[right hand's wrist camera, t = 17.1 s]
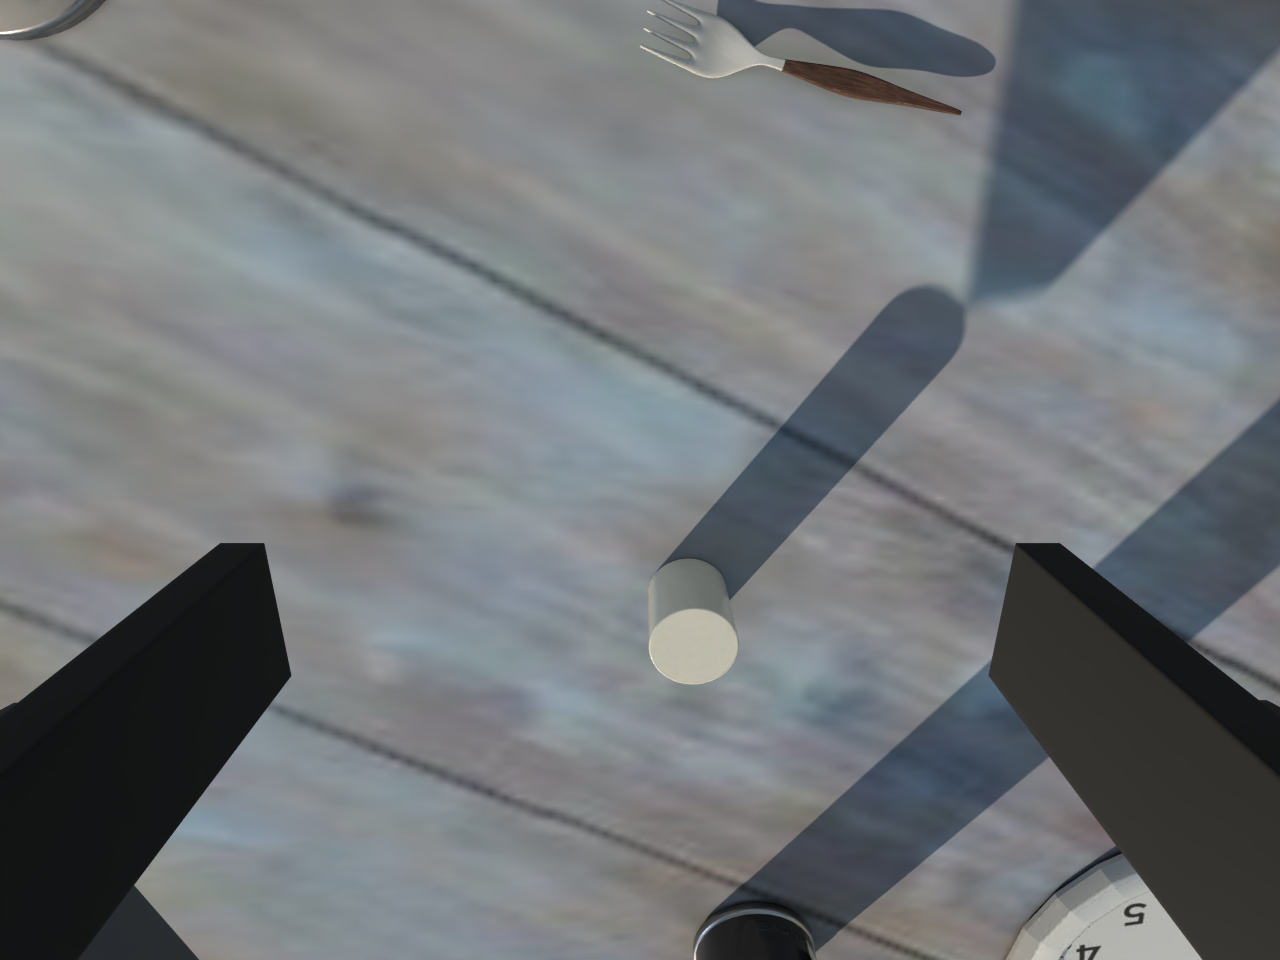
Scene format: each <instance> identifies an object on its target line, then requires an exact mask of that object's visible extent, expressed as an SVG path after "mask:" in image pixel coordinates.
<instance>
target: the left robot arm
mask: <svg viewBox="0 0 1280 960" xmlns="http://www.w3.org/2000/svg"><path fill="white" fill-rule="evenodd" d="M693 950H694V960H816V955H815V945H814V941H813V937H812V933H811V930H810V928H809V927H808V925H807V924H806V922H805V921H804V920H803V919H802V918H801V917H800V916H798V915H797V914H796V913H794V912H792V911H791V910H789V909H786V908H784V907H781V906H778V905H774V904H768V903H745V904H739V905H735V906H732V907H728V908H726V909H723V910H721V911H719V912H717V913H716V914H714V915H713V916H711V917H710V918H709V919H708V920H706V921H705V922H704V923H703V925H702V926H701V927H700V928H699V930H698V932H697V934H696V936H695V939H694V945H693Z"/></svg>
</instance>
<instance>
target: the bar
mask: <svg viewBox="0 0 1280 960" xmlns="http://www.w3.org/2000/svg"><path fill="white" fill-rule="evenodd" d="M78 960H199V959H198V958H197V957H196V956H195V954H194V953H193V952H192V951H191V950H190V949H189V948H188V946H187V945H186V944H185V943H184V942H183V941H182V940H181V938H180V937H179V936H178V935H177V934H176V933H175V932H174V930H173V929H172V928H171V927H170V926H169V925H168V924H167V922H166V921H165V920H164V919H163V918H162V917H161V916H160V914H159V913H158V912H157V911H156V910H155V909H154V908H153V906H152V905H151V904H150V903H149V902H148V901H147V900H146V898H145V897H144V896H143V895H142V894H141V893H140V892H139V890H138V889H137V888H136V887H135V886H133V887H132V888H131V890H130V891H129V892H128V894H127V895H126V896H125V898H124V899H123V900H122V902H121V903H120V904H119V906H118V907H117V908H116V910H115V911H114V912H113V914H112V915H111V916H110V918H109V919H108V920H107V922H106V923H105V924H104V926H103V927H102V928H101V930H100V931H99V932H98V934H97V935H96V936H95V938H94V939H93V940H92V942H91V943H90V944H89V945H88V947H87V948H86V949H85V951H84V952H83V953H82V955H81V956H80V957H79V959H78Z"/></svg>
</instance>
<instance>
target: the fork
mask: <svg viewBox="0 0 1280 960" xmlns="http://www.w3.org/2000/svg"><path fill="white" fill-rule="evenodd" d="M662 1H664V2H666V3H667V4H669V5H671V6H673V7H675V8H676V9H678V10H680V11H682V12H684V13H686V14H688V15H690V16H691V17H693V18H695V19H696V20H697V21H698V26H691V25H688V24H685V23H682V22H680V21H677V20H674V19H671V18H669V17H666V16H663V15H660V14H658V13H655V12H652V11H649V10H648V11H647V12H649V13H650V14H652V15H654V16H656V17H657V18H659V19H661V20H663V21H665V22H667V23H668V24H670V25H672V26H674V27H676V28H678V29H680V30H682V31H684V32H686V33H688V34H689V35H691V36H692V37H693V38H694V40H695V41H694V42H693V43H688V42H685V41H682V40H679V39H676V38H673V37H670V36H667V35H664V34H661V33H658V32H656V31H653V30H650V29H647V28H644V30H646V31H648V32H649V33H651V34H653V35H655V36H657V37H659V38H661V39H663V40H665V41H667V42H668V43H670V44H672V45H674V46H676V47H678V48H681V49H682V50H684V51H686V52H688V53H689V54H690V56H691V58H690V59H682V58H679V57H676V56H673V55H670V54H667V53H664V52H661V51H658V50H655V49H652V48H649V47H646V46H644V45H640V47H641V48H643V49H646V50H648V51H649V52H651V53H653V54H655V55H657V56H659V57H661V58H663V59H665V60H667V61H669V62H672V63H674V64H676V65H678V66H680V67H682V68H685V69H687V70H689V71H691V72H693V73H695V74H697V75H700V76H703V77H707V78H718V77H723V76H727V75H730V74H733V73H735V72H738V71H740V70H743V69H745V68H748V67H751V66H755V65H766V66H770V67H773V68H776V69H778V70H781V71H783V72H785V73H788V74H790V75H793V76H795V77H797V78H800V79H802V80H804V81H807V82H809V83H812V84H814V85H816V86H819V87H821V88H824V89H826V90H829V91H831V92H834V93H837V94H840V95H843V96H847V97H851V98H856V99H861V100H867V101H874V102H882V103H889V104H896V105H903V106H909V107H915V108H920V109H926V110H932V111H937V112H943V113H949V114H955V115H961V112H962V111H960V110H958V109H956V108H953V107H951V106H948V105H945V104H943V103H940V102H938V101H935V100H932V99H930V98H927V97H924V96H922V95H919V94H916V93H914V92H911V91H909V90H906V89H904V88H901V87H899V86H896V85H894V84H891V83H889V82H887V81H884V80H882V79H879V78H877V77H874V76H871V75H869V74H866V73H863V72H860V71H856V70H852V69H847V68H842V67H836V66H829V65H822V64H815V63H807V62H800V61H793V60H786V59H780V58H774V57H770V56H767V55H765V54H763V53H761V52H760V51H758V50H757V49H756V48H755V47H754V46H753V45H752V44H751V43H750V42H749V41H748V40H747V39H746V38H745V37H744V36H743V34H742V33H741V32H740V31H739V30H738V29H737V28H735V27H734V26H733V25H732V24H731V23H729V22H728V21H726V20H725V19H723V18H721V17H719V16H717V15H714V14H711V13H707V12H704V11H700V10H698V9H695V8H692V7H689V6H687V5H684V4H681V3H679V2H676V1H674V0H662Z"/></svg>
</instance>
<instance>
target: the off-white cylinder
mask: <svg viewBox="0 0 1280 960" xmlns="http://www.w3.org/2000/svg"><path fill="white" fill-rule="evenodd" d="M648 624H649V652H650V657H651V659H652V661H653V663H654V665H655V666H656V668H657V669H658V670H659V671H660V672H661V673H662V674H663V675H665V676H666V677H668V678H669V679H671V680H674V681H676V682H679V683H684V684H702V683H706V682H710V681H712V680H715V679H717V678H718V677H720V676H721V675H723V674H724V673H725V672H726V671H728V669H729V668H730V667H731V666H732V664H733V663H734V661H735V659H736V657H737V654H738V649H739V641H738V635H737V631H736V627H735V622H734V618H733V614H732V609H731V605H730V601H729V596H728V592H727V588H726V584H725V581H724V579H723V577H722V575H721V574H720V572H719V571H718V570H717V569H716V568H714V567H713V566H712V565H710V564H708V563H706V562H704V561H701V560H698V559H689V558H687V559H679V560H675V561H672V562H670V563H668V564H666V565H664V566H663V567H662V568H660V569H659V570H658V571H657V572H656V574H655V575H654V576H653V578H652V580H651V582H650V584H649V588H648Z"/></svg>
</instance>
